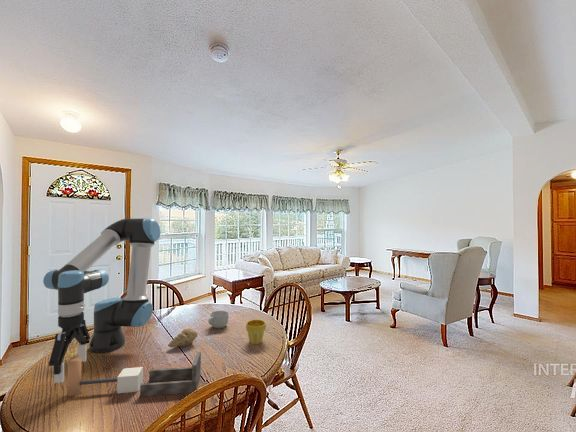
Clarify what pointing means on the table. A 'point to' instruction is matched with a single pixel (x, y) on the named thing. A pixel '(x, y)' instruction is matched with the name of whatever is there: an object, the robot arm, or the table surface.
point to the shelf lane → (173, 374)
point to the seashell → (184, 338)
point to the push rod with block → (125, 381)
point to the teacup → (219, 319)
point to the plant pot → (255, 330)
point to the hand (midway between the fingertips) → (71, 371)
